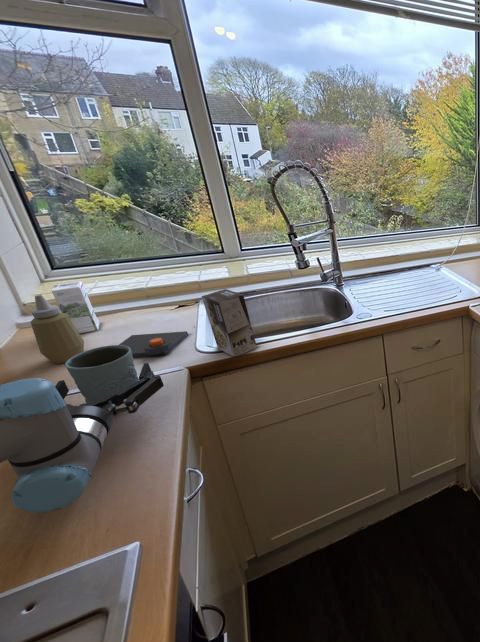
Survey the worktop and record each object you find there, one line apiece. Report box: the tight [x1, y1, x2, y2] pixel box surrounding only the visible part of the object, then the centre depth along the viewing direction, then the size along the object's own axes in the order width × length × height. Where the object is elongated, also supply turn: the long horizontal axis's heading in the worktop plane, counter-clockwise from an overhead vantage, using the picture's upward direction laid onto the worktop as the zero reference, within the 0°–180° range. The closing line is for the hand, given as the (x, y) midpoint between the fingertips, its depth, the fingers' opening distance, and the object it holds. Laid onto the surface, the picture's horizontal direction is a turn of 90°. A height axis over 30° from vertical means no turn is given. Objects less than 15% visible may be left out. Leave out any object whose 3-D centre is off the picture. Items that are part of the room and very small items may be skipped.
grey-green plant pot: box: [64, 344, 139, 403], centre depth 88 cm, size 10×10×12 cm
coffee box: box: [201, 288, 257, 358], centre depth 111 cm, size 9×6×16 cm
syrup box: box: [51, 280, 100, 335], centre depth 119 cm, size 6×6×14 cm
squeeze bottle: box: [29, 294, 85, 364], centre depth 104 cm, size 8×8×18 cm
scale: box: [118, 330, 189, 359], centre depth 112 cm, size 15×13×3 cm
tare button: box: [150, 338, 164, 347], centre depth 109 cm, size 3×3×2 cm
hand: (107, 376), depth 88 cm, fingers open, 13 cm apart
